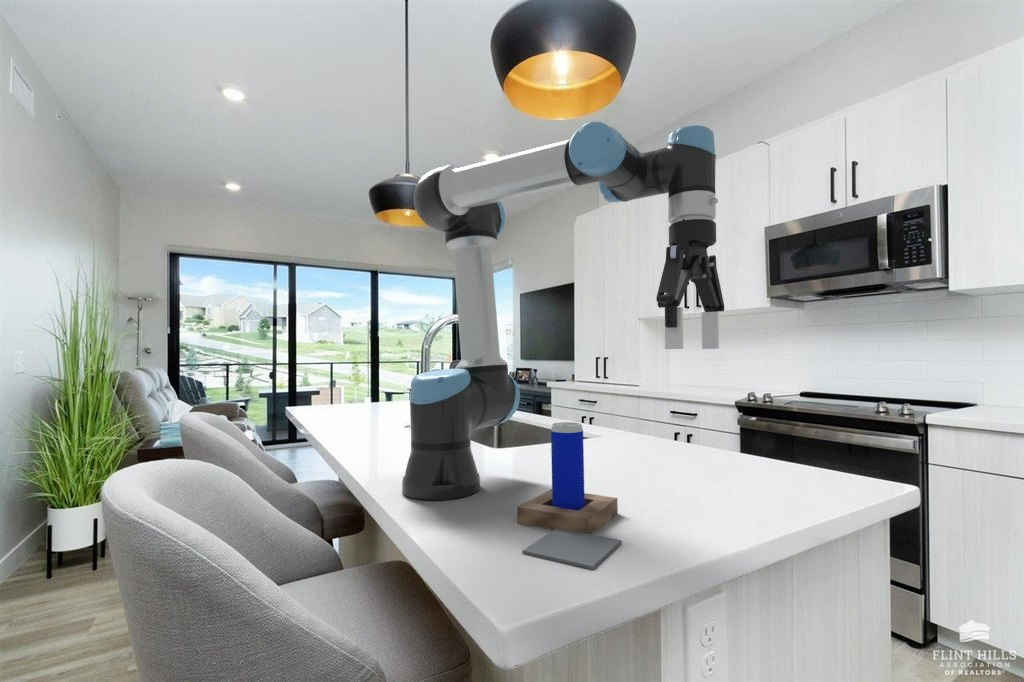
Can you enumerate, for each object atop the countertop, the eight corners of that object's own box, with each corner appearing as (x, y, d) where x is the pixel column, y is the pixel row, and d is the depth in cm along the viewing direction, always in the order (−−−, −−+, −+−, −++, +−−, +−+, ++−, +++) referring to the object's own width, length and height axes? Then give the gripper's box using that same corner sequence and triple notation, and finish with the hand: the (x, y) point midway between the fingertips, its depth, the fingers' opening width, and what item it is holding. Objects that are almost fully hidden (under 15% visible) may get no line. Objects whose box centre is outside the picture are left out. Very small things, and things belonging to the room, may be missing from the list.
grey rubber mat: (522, 553, 67) (522, 550, 67) (557, 530, 75) (557, 527, 75) (592, 569, 61) (592, 566, 61) (621, 542, 70) (621, 539, 70)
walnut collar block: (517, 522, 79) (517, 506, 79) (552, 502, 89) (552, 488, 89) (588, 536, 72) (587, 518, 72) (617, 513, 83) (617, 498, 83)
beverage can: (566, 510, 84) (564, 421, 85) (591, 517, 81) (589, 423, 81) (545, 518, 81) (544, 424, 81) (571, 525, 77) (569, 427, 77)
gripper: (678, 202, 73) (679, 348, 73) (742, 231, 91) (744, 348, 90) (633, 212, 78) (634, 349, 78) (702, 237, 96) (703, 348, 96)
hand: (693, 349), depth 84 cm, fingers open, 13 cm apart
